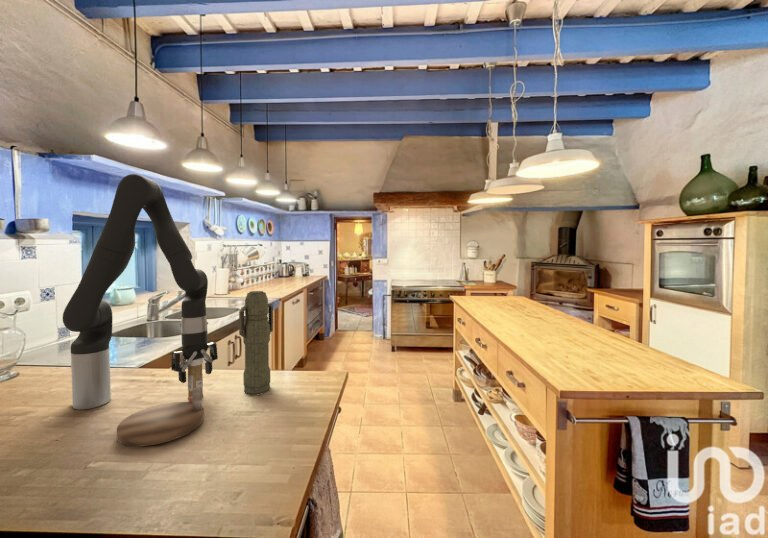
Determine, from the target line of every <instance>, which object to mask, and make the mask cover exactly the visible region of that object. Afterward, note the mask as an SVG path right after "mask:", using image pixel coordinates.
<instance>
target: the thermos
mask: <svg viewBox="0 0 768 538" xmlns="http://www.w3.org/2000/svg"><path fill="white" fill-rule="evenodd" d="M238 316H239V317H238V323H239V324H238V325H239V326H238V328H239V330H238V331H239V333H238V334H239V336H241V337H242V338H243V341H242V342H243V345H244V371H243V375H242V376H243V377H242V379H243V392H245V393H246V395H248V394H249V395H250V396H258V395H257V394H259V395H262V394H261V393H263V394H265V393H267V392H269V391H270V390H271V389H270V388H271V385H270V384H271V368H270V365H269V364H270V363H269V360H270V359H269V352H270V351H269V348H270V347H269V346H270V345H269V344H270V342H271V334H272V333H273V331H274V307H273V305H272V303H269V299H268V296H267V293H266V292H265V291H262V290H252V291H249V292H248V293H247V294H246V296H245V299H244V306H241V308H240V309H239V311H238ZM269 389H270V390H269ZM245 393H244V394H245ZM249 395H248V396H249Z"/></svg>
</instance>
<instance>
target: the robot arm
mask: <svg viewBox="0 0 768 538" xmlns="http://www.w3.org/2000/svg"><path fill="white" fill-rule="evenodd" d="M142 209H143V212H145V213H146V214H147V216H148V217H149V220H150V221H151V223H152V225H153V228H154V233H155V238H156V241H157V244H158V247H159V248H160V250H161V252H162V254H163V255H164V257H165V259H166V260H167V262H168V263H169V266H170V271H171V272H172V275H173V276H172V277H173V279H174V281H175V284H176V285H177V286H178V288H180V289H181V290H182V291H184V292H185V293H184V299H183V300H182V302H181V306H180V307H181V309H180V310H181V322H180V323H181V324H180V330H181V331H180V332H181V346H182V347H181V350H180V351H172V353H171V369H170V370H171V371H174V372H176V373H177V372H178V381H179V382H181V384H185V383H187V371H186V370H187V369H188V365H190V363H191V362H192V361H193V360H196V359H199V358H203V361H204V362H205V363H204V365H205V366H204V369H205V371H204V372H205V374H206V375H211V374H212V372H213V363H214V361H215V360H218V358H219V356H218V345H217V342H212V341H211V342H209V343H208V341H209V337H208V336H209V335H208V320H207V319H208V318H207V308H206V307H207V304H206V299H207V294H208V285H209V281H208V276H207V274H206V272H205V271H203V270H202V269H199V268H195V266H194V264H193V262H192V259H193V255H192V252H191V250H190V249H189V247H188V245H187V243H186V241H185V240H184V238H183V237H182V235H181V233H180V231H179V229H178V227H177V225H176V224H175V221H174V218H173V217H172V214H171V212H170V209H169V207H168V204H167V200H166V199H165V195H164V193H163V190H162V188H161V186H160V185H159V184H158V182H156V181H155V180H153V179H151V178H149V177H146V176H143V175H141V174H135V173H130V174H128V175H125V176H124V177H123V178H121V179H120V182H119V183H118V185H117V186H116V191H115V194H114V198H113V201H112V205H111V208H110V210H109V211H110V212H109V214H108V217H107V219H106V220H105V221H106V222H105V223H104V226H103V228H102V231H101V234H100V236H99V237H98V240H97V242H96V244H95V246H94V249H93V250H92V254H91V256H90V258H89V261H88V264H87V266H86V267H85V270H84V272H83V275H82V276H81V279H80V282H79V284H78V285H77V287H76V289H75V290H74V293H73V294H72V296H71V298H70V299H69V301H68V303H67V304H66V305H65V308H64V310H63V313H62V323H63V325H64V327H65V328H66V329H67V330H68V331H70V332H73V333H74V332H75V333H79V334H78V336H77V337H76V339H75V340H74V341H72V343H70V365H71V367H70V368H71V392H72V393H71V395H72V397H71V398H72V409H74V410H79V411H80V410H81V411H82V410H89V409H94V408H98V407H100V406H103V405H106V404H107V403H109V402H110V401H111V400H112V399H111V397H112V396H111V395H112V393H111V391H112V390H111V387H112V386H111V363H110V362H111V359H110V342H111V340H112V336H113V311H112V308H111V305H110V304H109V302H108V301H106V300H105V299H103V298H104V296H105V294H106V293H107V291H108V290H109V289H110V287H111V286H112V284H114V283H115V282H116V281H117V279H118V278H119V277H120V276H121V275H122V274H123V272H124V271H125V270H126V269H127V267H128V265H129V264H130V261H131V258H132V256H133V254H134V250H135V247H136V224H137V221H138V218H139V216H140V214H141V212H142ZM208 350H209V354H208ZM182 356H183V357H182Z"/></svg>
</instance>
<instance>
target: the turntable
mask: <svg viewBox="0 0 768 538" xmlns="http://www.w3.org/2000/svg"><path fill="white" fill-rule="evenodd" d="M204 419H205V409H204V407H203V397H202V388H201V387H197V388H193V389H192V402H189V401H175V402H166V403H162V404H161V403H160V404H157V405H153V406H150V407H146V408H144V409H141V410H139V411H136V412H134V413H132V414H131V415H129V416H126V418H124V419H123V420H121V421H120V422H119V424H118V425H117V427H116V440H117V441H118V442H119V443H120V444H122V445H125V446H129V447H130V446H131V447H146V446H154V445H159V444H163V443H167V442H171V441H173V440H176V439H178V438H181V437H183V436H185V435H188V434H190V433H191V432H193V431H195V430H196V429H197V428H199V426H201V424H202V423H203V422H204Z"/></svg>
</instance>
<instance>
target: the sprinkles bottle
mask: <svg viewBox="0 0 768 538" xmlns="http://www.w3.org/2000/svg"><path fill="white" fill-rule="evenodd" d="M203 362H204V359H203V358H199V359H196V360H193V361H192V362H191V363H190V365H188V367H187V395H188V396H187V400H188V401H189V398H190V397H192V389H193V388H197V387H201V388H202V398H203V397H204V393H203V392H204V391H203V389H204V388H203V384H204V383H203V381H204V380H203V364H204V363H203Z"/></svg>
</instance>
